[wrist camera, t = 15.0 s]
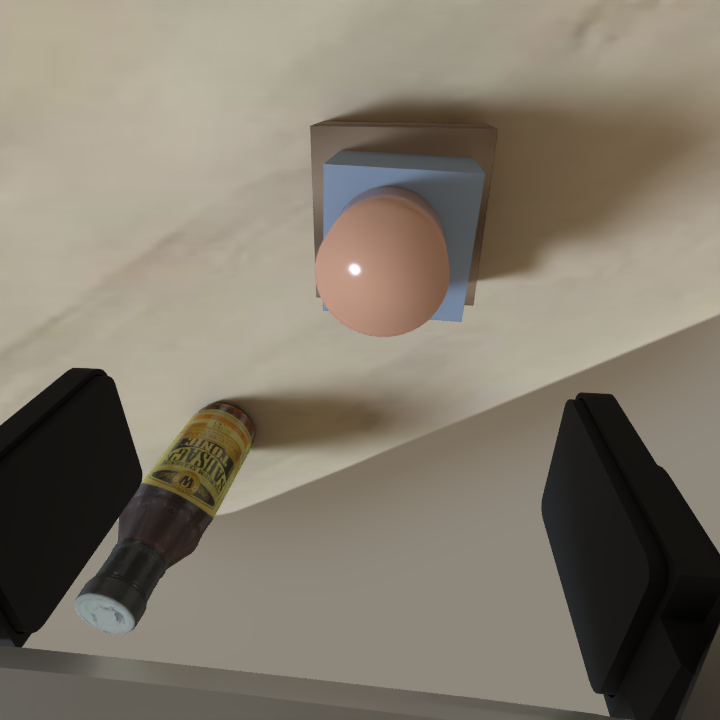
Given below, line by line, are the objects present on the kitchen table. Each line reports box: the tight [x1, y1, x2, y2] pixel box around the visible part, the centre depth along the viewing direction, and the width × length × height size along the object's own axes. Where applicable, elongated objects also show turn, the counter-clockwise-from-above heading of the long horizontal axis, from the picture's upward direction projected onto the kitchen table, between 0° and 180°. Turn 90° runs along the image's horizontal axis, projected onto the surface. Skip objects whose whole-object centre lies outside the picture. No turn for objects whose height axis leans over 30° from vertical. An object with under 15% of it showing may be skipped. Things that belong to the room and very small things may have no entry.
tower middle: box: [323, 150, 485, 322], centre depth 28 cm, size 8×8×6 cm
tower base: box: [310, 121, 498, 306], centre depth 33 cm, size 11×11×5 cm
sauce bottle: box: [75, 403, 255, 634], centre depth 38 cm, size 7×6×20 cm
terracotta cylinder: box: [315, 186, 450, 337], centre depth 24 cm, size 6×6×5 cm
